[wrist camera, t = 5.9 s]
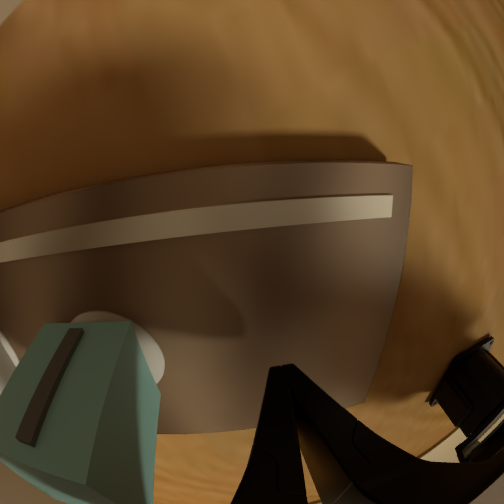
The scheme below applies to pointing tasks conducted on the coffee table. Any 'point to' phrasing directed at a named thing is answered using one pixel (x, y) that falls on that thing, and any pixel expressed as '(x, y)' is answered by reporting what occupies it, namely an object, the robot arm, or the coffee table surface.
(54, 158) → the coffee table surface
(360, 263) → the board
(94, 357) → the sage green box
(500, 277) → the coffee table surface
